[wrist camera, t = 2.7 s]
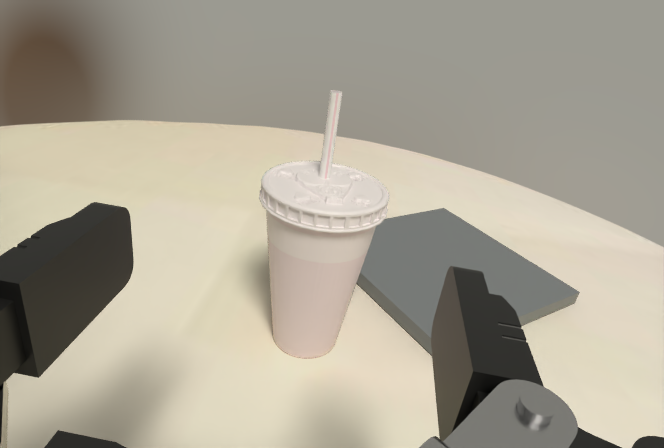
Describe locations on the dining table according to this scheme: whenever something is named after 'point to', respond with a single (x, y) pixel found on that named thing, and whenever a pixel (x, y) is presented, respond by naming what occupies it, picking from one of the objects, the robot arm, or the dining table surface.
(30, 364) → the robot arm
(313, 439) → the dining table surface
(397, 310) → the coaster
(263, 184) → the smoothie
